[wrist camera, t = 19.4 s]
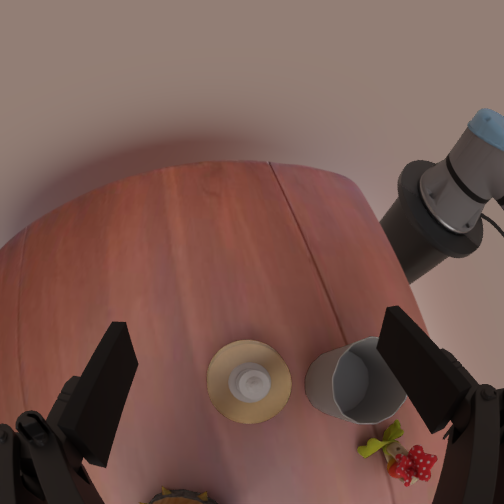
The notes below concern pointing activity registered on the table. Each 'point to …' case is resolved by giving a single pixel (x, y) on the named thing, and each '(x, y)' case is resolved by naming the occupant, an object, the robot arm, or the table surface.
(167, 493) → the mug
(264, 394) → the chess piece
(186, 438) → the table surface
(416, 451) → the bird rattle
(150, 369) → the table surface
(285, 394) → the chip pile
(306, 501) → the table surface
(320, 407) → the cup
